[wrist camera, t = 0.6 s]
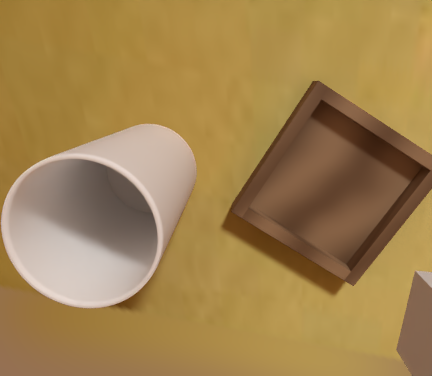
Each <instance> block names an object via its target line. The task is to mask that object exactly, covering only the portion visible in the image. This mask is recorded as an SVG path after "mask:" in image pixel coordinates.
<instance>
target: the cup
mask: <svg viewBox="0 0 432 376" xmlns="http://www.w3.org/2000/svg"><path fill="white" fill-rule="evenodd" d="M196 174H197V170H196V162H195V158H194V155H193V153H192V151H191V149H190V147H189V146H188V144H187V143H186V142H185V140H184V139H183V138H182V137H181V136H180V135H178V134H177V133H176V132H174V131H173V130H171V129H169V128H166V127H164V126H160V125H156V124H141V125H136V126H133V127H130V128H128V129H125V130H122V131H119V132H117V133H114V134H111V135H109V136H106V137H103V138H100V139H98V140H95V141H92V142H89V143H87V144H84V145H81V146H78V147H76V148H73V149H70V150H68V151H65V152H62V153H59V154H57V155H54V156H51V157H49V158H46V159H44V160H42V161H40V162H38V163H37V164H35V165H33V166H32V167H30V168H29V169H28V170H26V171H25V172H24V173H23V174H22V175H21V176H20V177H19V178H18V179H17V180H16V181H15V183H14V184H13V186H12V187H11V189H10V190H9V192H8V194H7V197H6V199H5V202H4V206H3V210H2V217H1V230H2V237H3V242H4V245H5V248H6V251H7V254H8V256H9V258H10V260H11V262H12V263H13V265H14V267H15V268H16V270H17V271H18V273H19V274H20V275H21V276H22V277H23V278H24V280H25V281H26V282H27V283H28V284H30V285H31V286H32V287H33V288H34V289H36V290H37V291H38V292H40V293H41V294H43V295H44V296H46V297H48V298H50V299H52V300H54V301H56V302H59V303H62V304H65V305H68V306H73V307H78V308H102V307H107V306H111V305H115V304H117V303H120V302H122V301H124V300H126V299H128V298H130V297H131V296H133V295H134V294H135V293H137V292H138V291H139V290H140V289H141V288H142V287H143V286H144V285H145V284H146V283H147V282H148V280H149V279H150V278H151V276H152V275H153V273H154V272H155V270H156V268H157V266H158V264H159V262H160V260H161V258H162V255H163V253H164V251H165V249H166V247H167V245H168V242H169V240H170V238H171V236H172V234H173V232H174V229H175V227H176V225H177V223H178V221H179V218H180V216H181V214H182V212H183V210H184V208H185V205H186V203H187V201H188V199H189V197H190V195H191V192H192V190H193V188H194V185H195V181H196Z"/></svg>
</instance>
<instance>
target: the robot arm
mask: <svg viewBox="0 0 432 376" xmlns="http://www.w3.org/2000/svg"><path fill="white" fill-rule="evenodd" d="M397 351H398V353H399V355H400V356H401V358H402V360H403V361H404V363H405V365H406V366H407V368H408V370H409V371H410V373H411V374H412V376H432V272H423V271H415V274H414V278H413V282H412V286H411V291H410V295H409V299H408V303H407V308H406V312H405V316H404V320H403V324H402V329H401V333H400V337H399V341H398V345H397Z"/></svg>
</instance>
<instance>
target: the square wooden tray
mask: <svg viewBox="0 0 432 376" xmlns="http://www.w3.org/2000/svg"><path fill="white" fill-rule="evenodd" d="M431 189H432V155H431V154H429V153H428V152H426V151H425V150H423V149H422V148H420V147H419V146H417V145H416V144H414V143H413V142H411V141H410V140H408V139H407V138H405V137H404V136H402V135H400V134H399V133H397V132H396V131H394V130H393V129H391V128H390V127H388V126H387V125H385V124H384V123H382V122H381V121H379V120H378V119H376V118H374V117H373V116H371V115H370V114H368V113H367V112H365V111H364V110H362V109H361V108H359V107H358V106H356V105H355V104H353V103H352V102H350V101H349V100H347V99H345V98H344V97H342V96H341V95H339V94H338V93H336V92H335V91H333V90H332V89H330V88H329V87H327V86H326V85H324V84H323V83H321V82H320V81H313V82H312V84H311V85H310V87H309V88H308V90H307V91H306V93H305V94H304V96H303V97H302V99H301V100H300V102H299V103H298V105H297V106H296V108H295V109H294V111H293V112H292V114H291V115H290V117H289V118H288V120H287V121H286V123H285V125H284V126H283V128H282V129H281V131H280V132H279V134H278V135H277V137H276V138H275V140H274V141H273V143H272V144H271V146H270V147H269V149H268V150H267V152H266V153H265V155H264V156H263V158H262V159H261V161H260V162H259V164H258V165H257V167H256V168H255V170H254V171H253V173H252V175H251V176H250V178H249V179H248V181H247V182H246V184H245V185H244V187H243V188H242V190H241V191H240V193H239V194H238V196H237V197H236V199H235V200H234V202H233V203H232V211H231V212H232V213H234V214H236V215H237V216H239V217H241V218H242V219H244V220H246V221H247V222H249V223H250V224H252V225H254V226H255V227H257V228H259V229H260V230H262V231H264V232H265V233H267V234H269V235H270V236H272V237H273V238H275V239H277V240H278V241H280V242H282V243H283V244H285V245H287V246H288V247H290V248H292V249H293V250H295V251H296V252H298V253H300V254H301V255H303V256H305V257H306V258H308V259H310V260H311V261H313V262H315V263H316V264H318V265H319V266H321V267H323V268H324V269H326V270H328V271H329V272H331V273H333V274H334V275H336V276H338V277H339V278H341V279H342V280H344V281H346V282H347V283H349V284H351V285H352V286H354V285H355V284H356V282H357V281H358V280H359V279H360V277H361V276H362V275H363V274H364V272H365V271H366V270H367V269H368V267H369V266H370V265H371V264H372V262H373V261H374V260H375V259H376V257H377V256H378V255H379V254H380V252H381V251H382V250H383V249H384V247H385V246H386V245H387V244H388V242H389V241H390V240H391V239H392V238H393V236H394V235H395V234H396V233H397V231H398V230H399V229H400V228H401V226H402V225H403V224H404V223H405V221H406V220H407V219H408V218H409V216H410V215H411V214H412V213H413V211H414V210H415V209H416V208H417V206H418V205H419V204H420V203H421V201H422V200H423V199H424V198H425V196H426V195H427V194H428V193H429V191H430V190H431Z"/></svg>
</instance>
